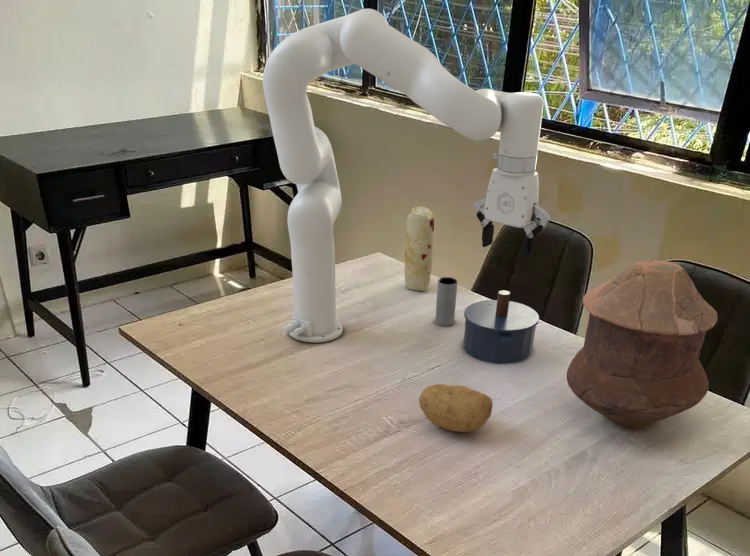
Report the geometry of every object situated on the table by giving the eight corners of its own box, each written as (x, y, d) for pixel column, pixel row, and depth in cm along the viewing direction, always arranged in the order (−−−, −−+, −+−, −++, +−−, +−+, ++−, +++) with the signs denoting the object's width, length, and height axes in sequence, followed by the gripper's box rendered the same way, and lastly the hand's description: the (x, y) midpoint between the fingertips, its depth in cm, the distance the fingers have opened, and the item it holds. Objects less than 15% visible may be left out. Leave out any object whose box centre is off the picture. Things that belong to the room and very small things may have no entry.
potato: (428, 406, 153) (430, 370, 148) (496, 423, 148) (501, 386, 143) (409, 430, 146) (411, 392, 141) (479, 448, 141) (484, 410, 136)
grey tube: (456, 320, 186) (459, 278, 180) (451, 327, 183) (454, 285, 177) (437, 317, 188) (440, 275, 181) (432, 324, 184) (435, 282, 178)
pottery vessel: (628, 467, 137) (670, 306, 119) (532, 404, 154) (556, 256, 136) (723, 428, 148) (774, 276, 130) (623, 374, 166) (657, 233, 148)
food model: (436, 292, 200) (442, 213, 188) (412, 295, 198) (416, 215, 186) (421, 278, 208) (425, 202, 196) (398, 281, 206) (401, 204, 194)
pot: (524, 329, 183) (528, 299, 178) (537, 370, 166) (543, 338, 162) (460, 328, 183) (463, 297, 178) (467, 368, 166) (470, 336, 162)
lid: (532, 305, 177) (536, 279, 173) (543, 336, 164) (548, 308, 160) (461, 303, 177) (463, 277, 173) (466, 334, 164) (469, 306, 160)
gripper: (469, 160, 154) (462, 246, 164) (547, 174, 145) (535, 264, 156) (488, 153, 159) (481, 237, 169) (565, 167, 150) (552, 254, 160)
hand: (507, 250), depth 162 cm, fingers open, 9 cm apart
